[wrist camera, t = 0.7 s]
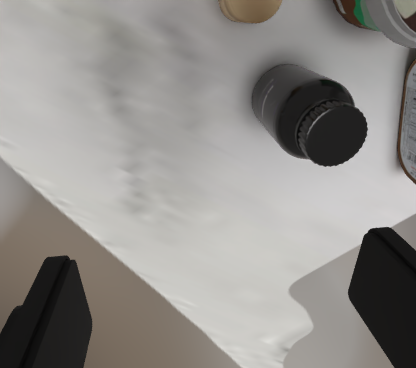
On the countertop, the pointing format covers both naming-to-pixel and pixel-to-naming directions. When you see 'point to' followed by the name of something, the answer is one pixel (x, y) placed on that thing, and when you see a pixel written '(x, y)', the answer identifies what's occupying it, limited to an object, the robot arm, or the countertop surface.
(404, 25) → the food container
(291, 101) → the supplement bottle
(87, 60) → the countertop surface
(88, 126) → the countertop surface
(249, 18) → the oak bead
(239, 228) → the countertop surface
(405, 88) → the tin
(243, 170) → the countertop surface
